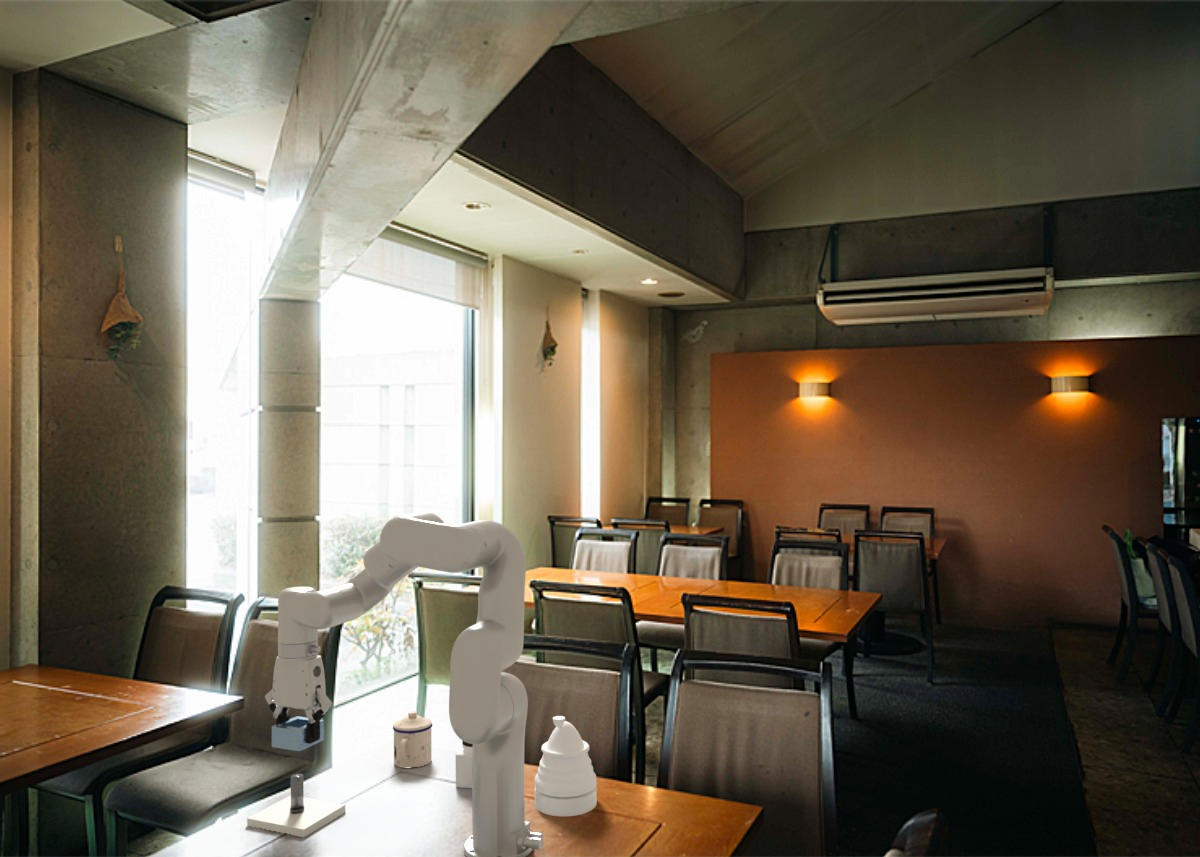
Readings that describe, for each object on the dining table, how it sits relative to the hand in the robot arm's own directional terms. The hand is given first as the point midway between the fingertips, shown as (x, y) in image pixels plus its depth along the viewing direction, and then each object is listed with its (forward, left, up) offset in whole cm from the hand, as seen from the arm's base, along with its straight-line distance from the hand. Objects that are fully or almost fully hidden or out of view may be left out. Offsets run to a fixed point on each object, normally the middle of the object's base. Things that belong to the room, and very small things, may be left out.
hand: (298, 738), depth 170 cm
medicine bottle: (-24, -29, -16) cm, 41 cm away
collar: (0, 0, -1) cm, 1 cm away
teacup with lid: (-4, -33, -16) cm, 37 cm away
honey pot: (-47, -26, -16) cm, 56 cm away
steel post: (0, 0, -14) cm, 14 cm away
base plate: (0, 0, -16) cm, 16 cm away
